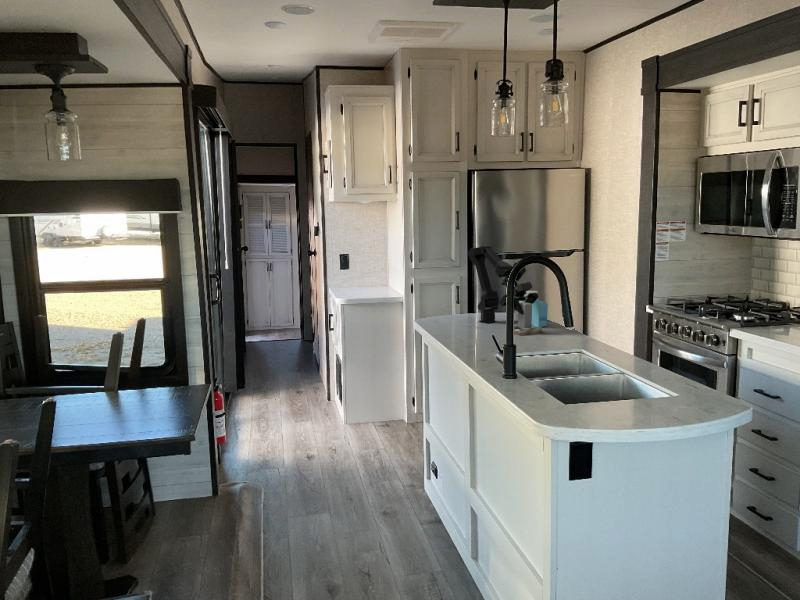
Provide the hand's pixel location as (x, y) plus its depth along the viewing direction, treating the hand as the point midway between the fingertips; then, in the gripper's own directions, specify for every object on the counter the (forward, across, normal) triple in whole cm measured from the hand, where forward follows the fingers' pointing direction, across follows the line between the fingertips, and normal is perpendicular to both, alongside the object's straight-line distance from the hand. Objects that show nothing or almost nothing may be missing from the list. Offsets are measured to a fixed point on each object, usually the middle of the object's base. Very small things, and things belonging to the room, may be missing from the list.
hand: (526, 313), depth 305 cm
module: (+4, 0, +6) cm, 7 cm away
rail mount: (+5, 0, +7) cm, 9 cm away
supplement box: (-12, +20, +25) cm, 34 cm away
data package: (-3, +16, +16) cm, 23 cm away
